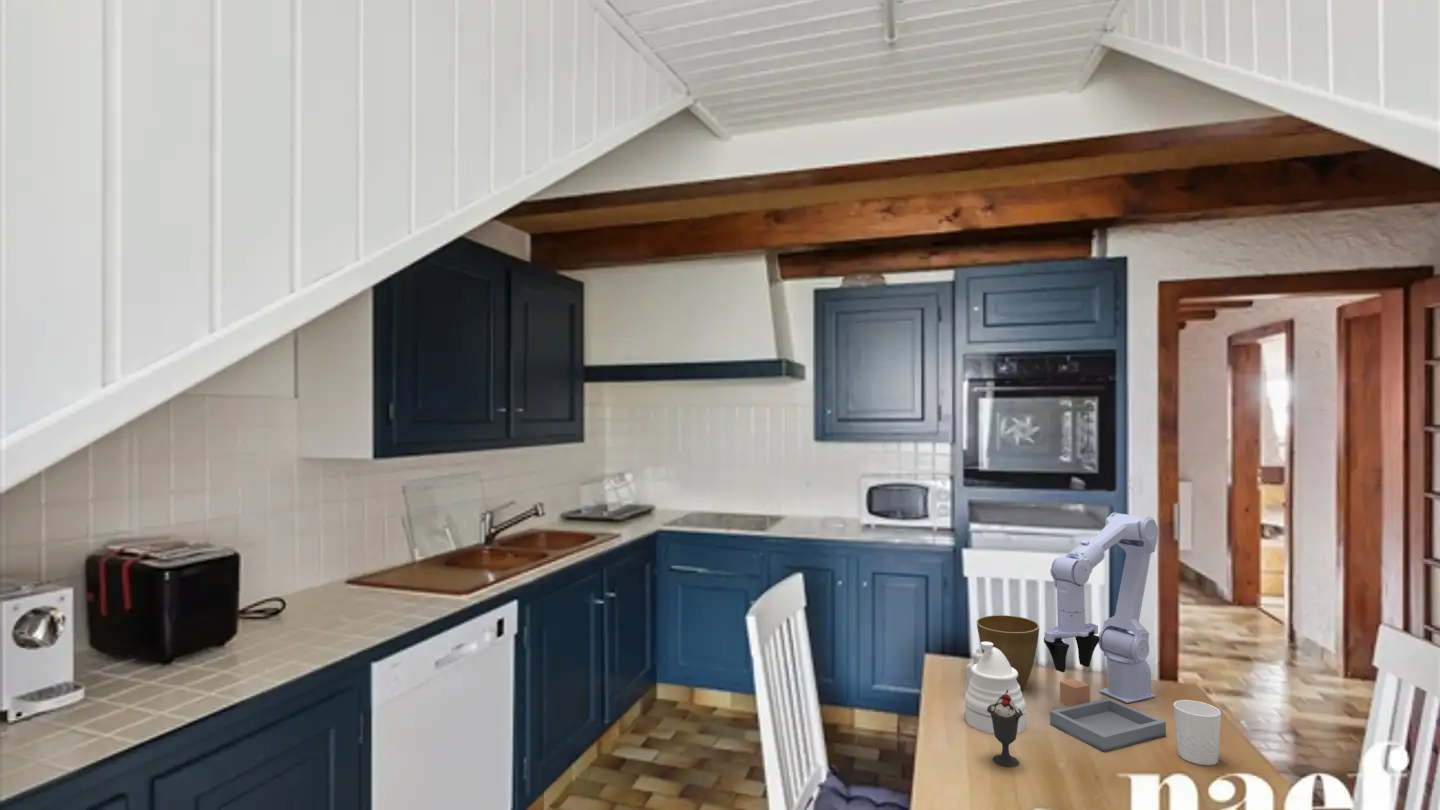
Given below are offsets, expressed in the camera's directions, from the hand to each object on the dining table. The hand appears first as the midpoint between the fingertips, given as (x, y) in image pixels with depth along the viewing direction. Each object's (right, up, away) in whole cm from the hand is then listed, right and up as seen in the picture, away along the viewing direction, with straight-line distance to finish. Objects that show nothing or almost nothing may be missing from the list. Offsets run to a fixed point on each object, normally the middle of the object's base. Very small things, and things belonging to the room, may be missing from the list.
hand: (1072, 668), depth 166 cm
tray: (+3, -10, -9) cm, 14 cm away
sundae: (-24, -11, -22) cm, 34 cm away
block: (+3, -10, +5) cm, 12 cm away
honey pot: (-19, -11, -4) cm, 23 cm away
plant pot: (-8, -11, +17) cm, 21 cm away
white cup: (+14, -10, -22) cm, 28 cm away
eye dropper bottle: (-18, -11, +9) cm, 23 cm away
